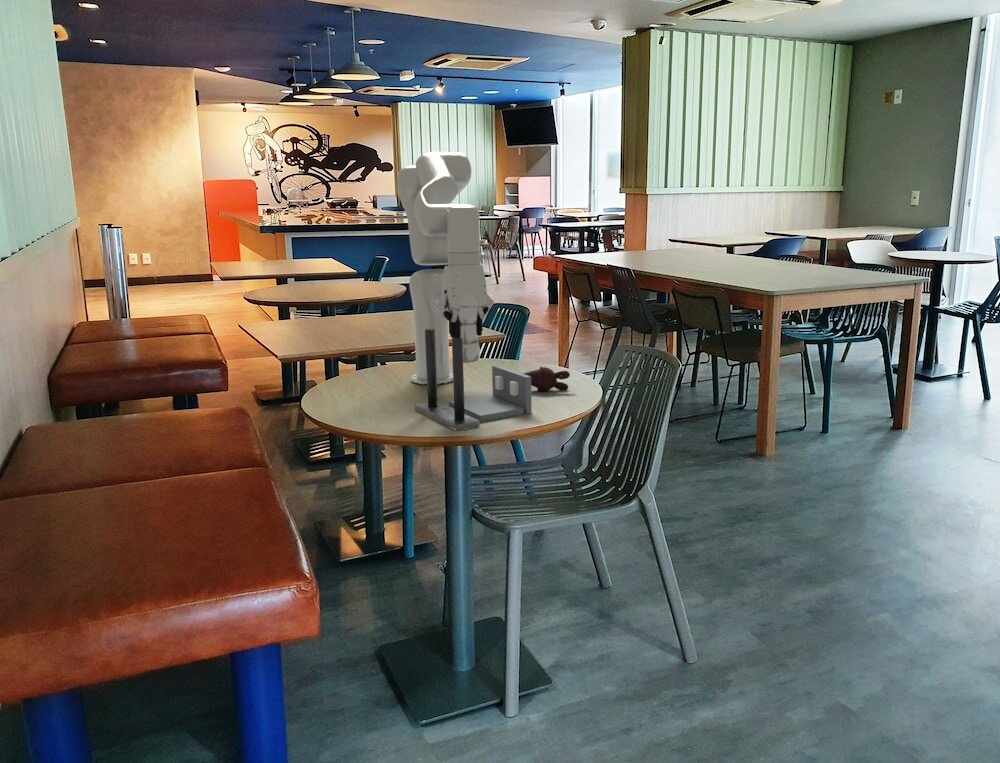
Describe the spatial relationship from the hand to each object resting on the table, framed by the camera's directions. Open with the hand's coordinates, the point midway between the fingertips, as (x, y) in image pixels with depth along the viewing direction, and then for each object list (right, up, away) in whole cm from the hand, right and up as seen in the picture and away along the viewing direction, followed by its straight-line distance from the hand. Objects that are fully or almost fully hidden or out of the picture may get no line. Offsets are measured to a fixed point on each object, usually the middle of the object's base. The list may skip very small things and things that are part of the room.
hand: (466, 335), depth 190 cm
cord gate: (-5, -20, +1) cm, 20 cm away
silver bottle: (0, -7, +2) cm, 7 cm away
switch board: (+6, -18, +7) cm, 20 cm away
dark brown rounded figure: (+19, -14, +25) cm, 35 cm away
